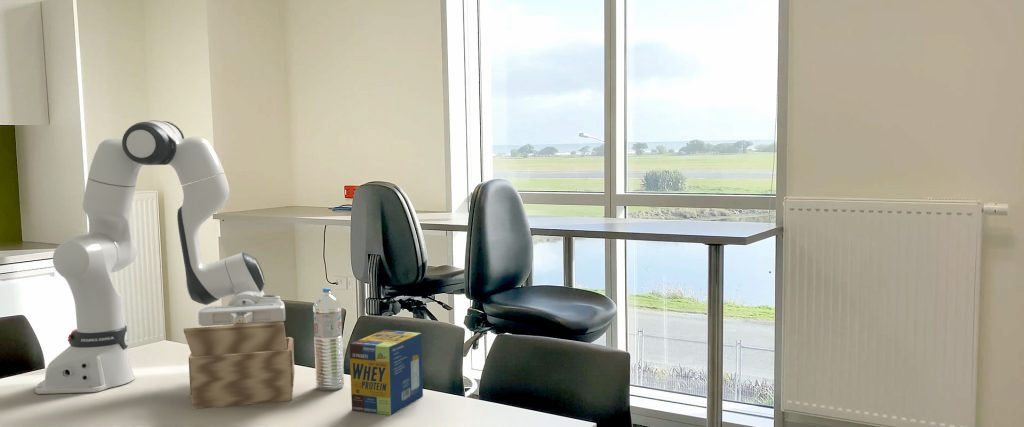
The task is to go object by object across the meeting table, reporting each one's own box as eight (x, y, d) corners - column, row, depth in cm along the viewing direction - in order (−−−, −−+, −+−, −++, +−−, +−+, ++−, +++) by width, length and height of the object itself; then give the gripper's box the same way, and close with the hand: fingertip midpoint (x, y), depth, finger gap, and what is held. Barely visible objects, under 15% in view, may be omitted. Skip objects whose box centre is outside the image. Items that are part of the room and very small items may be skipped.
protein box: (350, 411, 177) (348, 343, 176) (386, 391, 191) (384, 329, 190) (391, 416, 173) (388, 346, 172) (424, 396, 187) (422, 331, 186)
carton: (190, 409, 180) (188, 358, 179) (199, 391, 194) (197, 343, 193) (293, 400, 185) (291, 350, 185) (295, 383, 199) (293, 337, 199)
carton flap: (192, 354, 180) (192, 356, 179) (183, 328, 169) (183, 330, 169) (286, 347, 184) (286, 349, 184) (283, 321, 174) (283, 324, 174)
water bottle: (337, 392, 191) (333, 290, 189) (311, 391, 193) (307, 290, 191) (348, 384, 198) (345, 286, 196) (323, 383, 199) (319, 285, 197)
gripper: (201, 300, 197) (192, 310, 184) (286, 295, 202) (283, 304, 188) (202, 324, 197) (193, 336, 184) (287, 319, 202) (284, 330, 189)
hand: (239, 320), depth 186 cm, fingers closed
